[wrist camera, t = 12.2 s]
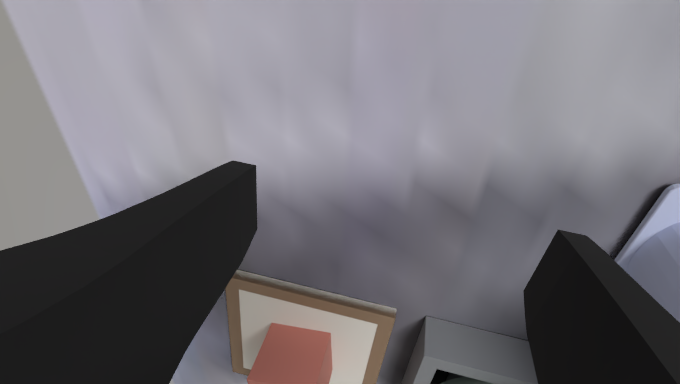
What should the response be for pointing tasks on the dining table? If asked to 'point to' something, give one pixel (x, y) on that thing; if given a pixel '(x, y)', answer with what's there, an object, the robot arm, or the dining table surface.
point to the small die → (293, 357)
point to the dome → (464, 381)
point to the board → (308, 324)
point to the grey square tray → (469, 355)
